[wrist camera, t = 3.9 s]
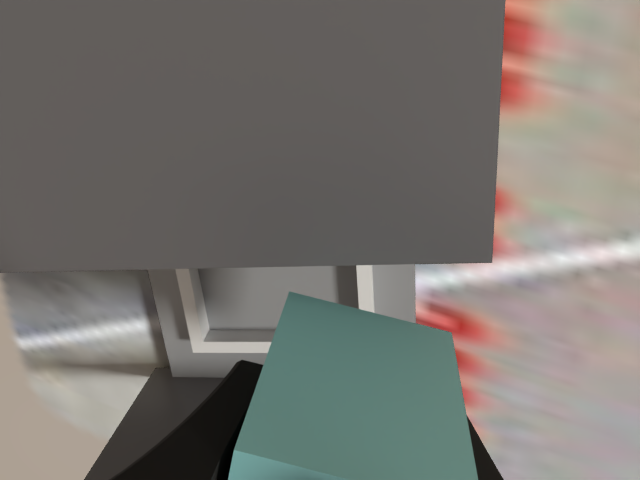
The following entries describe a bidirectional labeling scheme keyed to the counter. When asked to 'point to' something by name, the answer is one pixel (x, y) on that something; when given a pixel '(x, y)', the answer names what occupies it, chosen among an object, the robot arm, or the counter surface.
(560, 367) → the counter surface
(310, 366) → the block
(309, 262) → the dark grey cuboid box
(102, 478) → the tray
